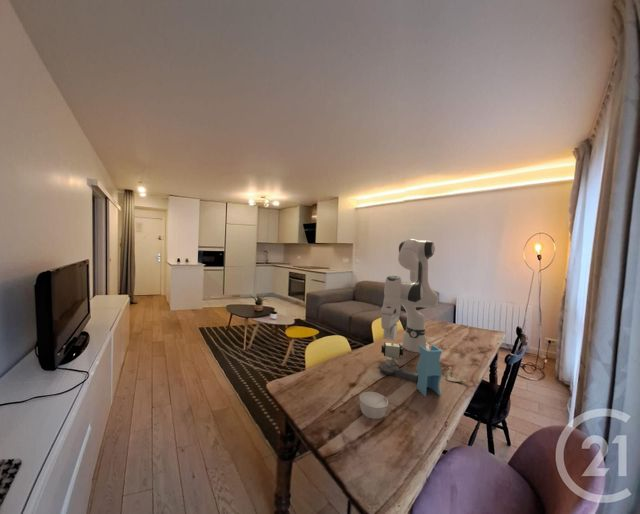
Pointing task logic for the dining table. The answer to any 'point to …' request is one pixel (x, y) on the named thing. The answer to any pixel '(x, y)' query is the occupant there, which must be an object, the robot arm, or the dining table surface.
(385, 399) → the ramekin
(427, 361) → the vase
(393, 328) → the beige rectangular block
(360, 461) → the dining table surface
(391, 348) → the pneumatic valve
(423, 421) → the dining table surface
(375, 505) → the dining table surface
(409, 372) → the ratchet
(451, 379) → the jawbone
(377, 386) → the dining table surface
